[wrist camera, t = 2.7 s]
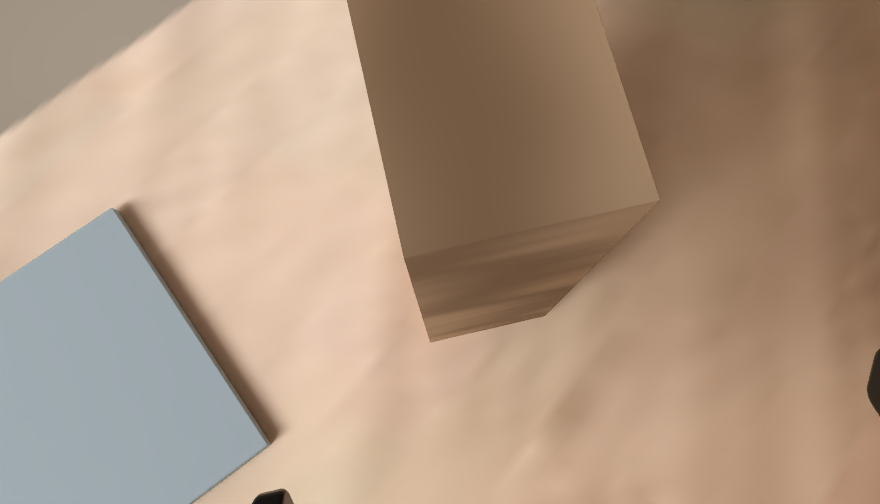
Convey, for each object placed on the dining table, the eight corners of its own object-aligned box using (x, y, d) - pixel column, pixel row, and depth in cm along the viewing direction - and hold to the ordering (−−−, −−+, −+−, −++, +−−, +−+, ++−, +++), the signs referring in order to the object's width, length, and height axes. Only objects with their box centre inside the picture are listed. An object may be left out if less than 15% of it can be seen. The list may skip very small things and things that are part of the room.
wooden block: (508, 181, 23) (571, -72, 11) (544, 315, 22) (660, 200, 10) (399, 205, 23) (341, -24, 11) (430, 342, 22) (404, 258, 10)
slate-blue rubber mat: (271, 444, 21) (266, 444, 21) (0, 647, 20) (-12, 653, 19) (118, 212, 23) (111, 207, 23) (-136, 382, 22) (-150, 381, 21)
